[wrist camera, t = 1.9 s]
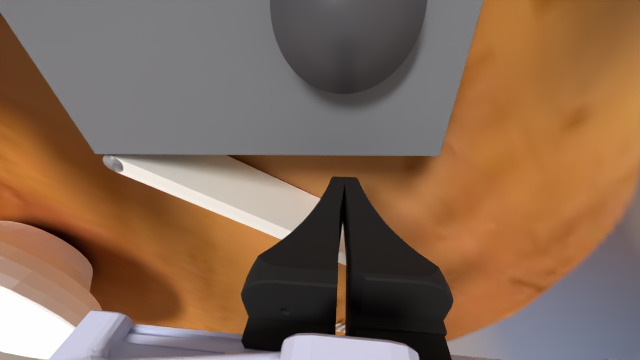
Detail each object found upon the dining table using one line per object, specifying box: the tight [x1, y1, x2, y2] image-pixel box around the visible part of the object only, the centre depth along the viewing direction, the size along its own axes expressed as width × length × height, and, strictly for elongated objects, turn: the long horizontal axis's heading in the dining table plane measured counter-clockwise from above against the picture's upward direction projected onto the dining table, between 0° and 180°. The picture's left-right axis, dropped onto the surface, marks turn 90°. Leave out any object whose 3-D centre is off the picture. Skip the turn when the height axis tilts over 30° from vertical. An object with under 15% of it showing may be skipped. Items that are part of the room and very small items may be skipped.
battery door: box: [103, 154, 346, 265], centre depth 15 cm, size 16×2×4 cm, turn 62°
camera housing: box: [0, 0, 484, 156], centre depth 9 cm, size 16×10×5 cm, turn 92°
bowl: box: [0, 221, 102, 360], centre depth 22 cm, size 20×20×7 cm
